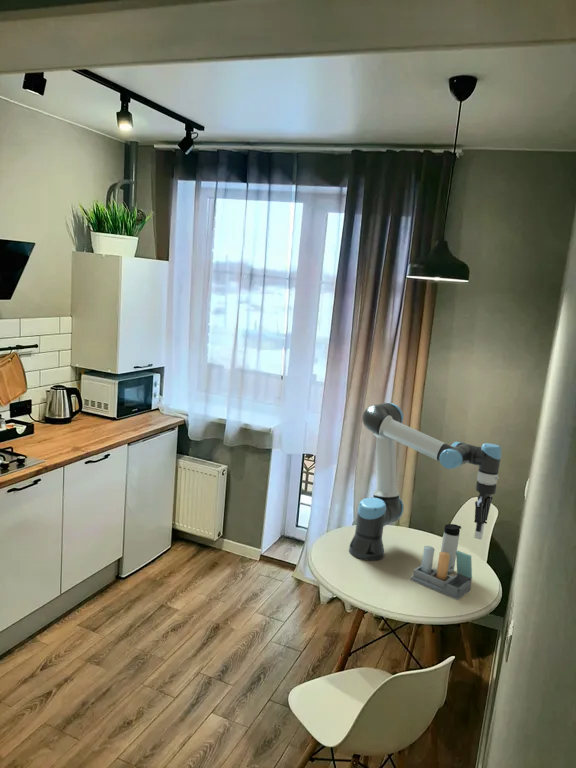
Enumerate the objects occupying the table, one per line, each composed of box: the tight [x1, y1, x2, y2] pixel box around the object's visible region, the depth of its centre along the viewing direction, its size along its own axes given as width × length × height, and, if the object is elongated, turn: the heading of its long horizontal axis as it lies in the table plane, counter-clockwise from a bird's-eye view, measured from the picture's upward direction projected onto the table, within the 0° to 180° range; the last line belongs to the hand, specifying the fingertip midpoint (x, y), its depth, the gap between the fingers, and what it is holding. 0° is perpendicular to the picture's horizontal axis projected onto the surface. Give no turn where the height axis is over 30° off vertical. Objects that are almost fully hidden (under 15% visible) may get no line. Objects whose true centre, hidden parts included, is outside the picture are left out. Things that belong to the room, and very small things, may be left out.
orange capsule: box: [436, 551, 450, 581], centre depth 225 cm, size 4×4×12 cm
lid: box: [456, 550, 473, 580], centre depth 224 cm, size 6×12×1 cm
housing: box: [409, 564, 473, 601], centre depth 226 cm, size 20×12×4 cm, turn 50°
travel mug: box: [440, 523, 462, 575], centre depth 238 cm, size 6×7×20 cm
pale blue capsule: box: [421, 545, 435, 575], centre depth 230 cm, size 4×4×12 cm
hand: (478, 538), depth 231 cm, fingers closed
